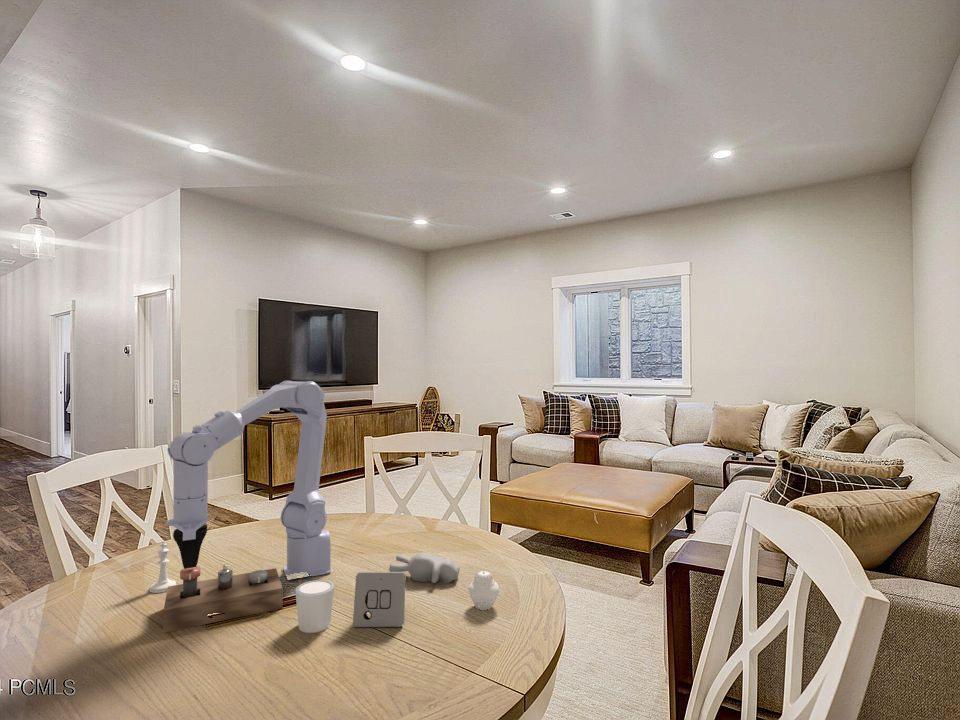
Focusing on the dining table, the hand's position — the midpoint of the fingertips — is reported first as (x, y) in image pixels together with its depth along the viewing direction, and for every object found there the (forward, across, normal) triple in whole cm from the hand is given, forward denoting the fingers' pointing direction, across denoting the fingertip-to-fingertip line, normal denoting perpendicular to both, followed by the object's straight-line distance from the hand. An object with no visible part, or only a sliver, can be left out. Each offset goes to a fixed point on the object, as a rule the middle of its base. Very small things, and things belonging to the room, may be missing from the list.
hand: (190, 566), depth 99 cm
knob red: (+6, 0, 0) cm, 6 cm away
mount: (+9, 0, +6) cm, 11 cm away
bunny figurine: (+10, +5, +46) cm, 48 cm away
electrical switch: (+9, +19, +32) cm, 38 cm away
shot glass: (+9, +15, +20) cm, 27 cm away
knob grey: (+9, 0, +12) cm, 15 cm away
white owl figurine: (+9, +23, +52) cm, 57 cm away
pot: (+5, 0, +6) cm, 8 cm away
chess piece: (+9, -16, -6) cm, 19 cm away
